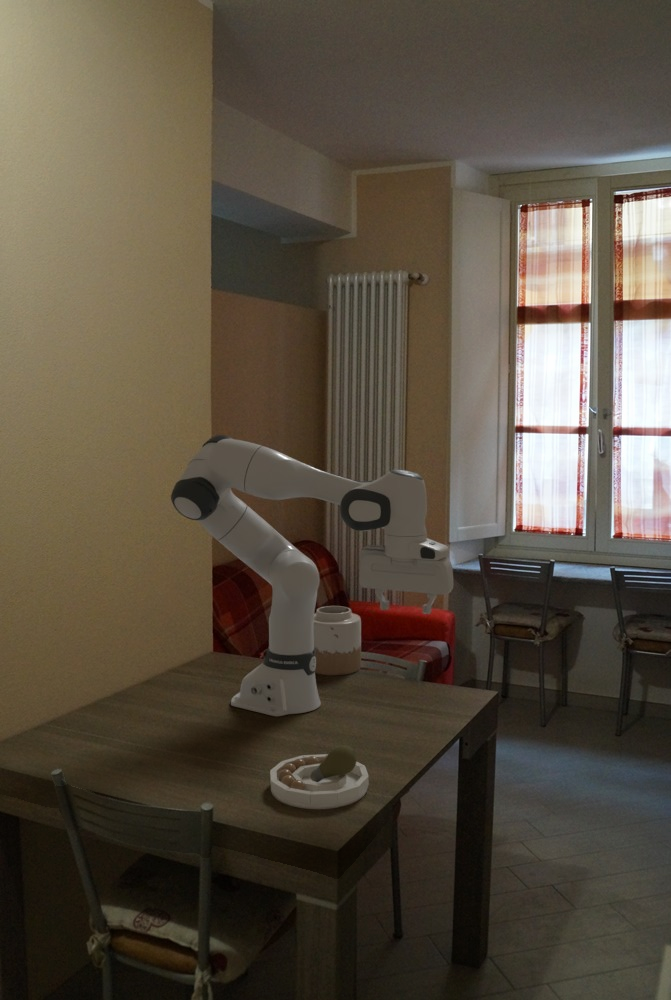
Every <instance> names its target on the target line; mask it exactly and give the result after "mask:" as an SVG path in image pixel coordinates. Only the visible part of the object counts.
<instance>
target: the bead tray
mask: <svg viewBox="0 0 671 1000" xmlns="http://www.w3.org/2000/svg"><path fill="white" fill-rule="evenodd" d="M328 754H329V753H328ZM328 754H327V753H324V754H304V755H298V756H295V757H292V758H288V759H285V760H284V759H283V760H281V761H280V762H279V763H278V764H276V765H275V766H274V767H273V768H271V769H270V770H269V777H270V778H269V780H270V792H271V795H272V796H273V797H274V798H275V799H276V800H277V801H279V802H281V803H282V804H285V805H287V806H290V807H295V808H300V809H304V810H305V809H307V810H308V809H309V810H330V809H337V808H341V807H342V808H343V807H345V806H349V805H352V804H353V803H356V802H358V801H359V800H361V799H362V798H363V797H364V796H365V795H366V794H367V792H368V787H369V785H370V783H369V781H370V780H369V779H370V778H369V777H370V776H369V773H368V771H367V768H366V765H364V764H362V763H360V762H359V761H357V760H356V765H355V767H354V769H353V770H352V771H351V772H349V773H348V774H345V775H336V776H331V777H328V778H324V779H323V780H321V781H319V782H315V781H312V780H311V778H310V776H311V772H312V771H313V770H315V769H317V768H318V767H319V765H320V764H321V763H322V762H323V761H324V760H325V758H326V757H327V755H328Z"/></svg>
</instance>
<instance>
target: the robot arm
mask: <svg viewBox="0 0 671 1000" xmlns="http://www.w3.org/2000/svg"><path fill="white" fill-rule="evenodd" d="M232 489H235V490H238V491H240V492H242V493H244V494H248V495H251V496H252V497H256V498H261V499H266V500H273V501H281V500H282V501H283V500H288V499H289V500H290V499H296V498H314V499H318V500H322V501H325V502H329V503H330V504H331V503H332V504H335V505H339V511H340V517H341V519H342V522H344V523H345V525H346V526H347V527H349V528H350V529H351V530H355V531H357V532H368V531H372V530H376V529H383V530H384V545H378V544H377V545H372V544H367V545H365V546H364V547H362V548H361V549H360V551H359V561H360V563H361V564H360V569H359V579H358V582H359V585H360V586H361V588H363V589H373V590H374V594H375V596H376V597H377V600H378V602H379V608H380V610H382V611H388V610H390V600H386V597H385V596H384V593H385V590H387V591H397V592H399V591H400V592H411V593H422V594H426V595H427V599H429V600H428V601H427V603H424V604H423V605H422V606H421V609H422V610H421V613H422V614H424V615H426V614H427V615H430V614H431V613H432V605H433V603H434V602H435V600H436V599H437V596H438V595H448V594H450V593H451V592H452V590H453V589H454V570H453V564H452V562H451V560H450V559H449V558H448V557H447V556H449V552H450V548H449V546H448V545H446V544H443V543H441V542H438V541H436V540H433V539H430V538H428V532H427V528H426V517H427V514H428V501H427V500H428V496H427V488H426V482H425V480H424V477H422V475H420V474H419V473H416V472H413V471H409V470H405V469H391V470H389V471H388V472H386V473H385V474H384V475H382V476H381V477H379V478H377V479H373V480H367V481H366V480H364V481H363V480H355V479H351V478H349V477H344V476H342V475H341V476H340V475H338V474H335V473H331V472H328V471H324V470H322V469H319V468H315V467H314V466H311V465H309V464H308V463H304V462H301V461H299V460H298V459H295V458H293V457H290V456H289V455H287V454H285V453H282V452H280V451H278V450H275V449H273V448H270V447H267V446H264V445H261V444H257V443H254V442H251V441H245V440H241V439H235V438H232V437H230V436H226V435H224V434H223V435H222V434H216V435H213V436H211V438H209V439H208V440H206V441H205V442H204V444H202V447H201V448H200V449H199V450H198V451H197V452H196V454H195V455H194V456H193V457H192V458H191V459H190V461H189V462H188V463H187V466H186V468H185V469H184V471H183V472H182V474H181V476H180V478H179V480H178V481H176V482H175V485H174V486H173V489H172V492H171V495H170V499H171V503H172V505H173V507H174V508H175V510H176V511H177V512H178V513H179V514H180V515H182V516H183V517H184V518H187V519H189V520H192V521H197V522H198V523H199V524H200V525H201V527H202V528H203V529H204V530H206V532H207V533H208V534H210V536H212V538H214V539H215V540H216V541H218V543H220V544H221V545H222V546H223V547H224V548H226V549H227V550H228V551H229V552H230V553H232V554H233V555H234V556H235V557H236V558H238V559H239V560H240V561H241V562H242V563H244V564H245V565H246V566H247V567H249V568H250V569H252V570H253V571H254V573H256V574H258V575H259V576H260V577H261V578H262V579H264V580H265V581H266V582H267V583H269V585H270V586H271V587H272V595H271V596H272V597H271V598H272V599H271V608H270V615H269V617H268V637H269V638H268V648H266V649H265V650H263V652H261V653H259V655H260V656H259V658H260V659H262V658H263V661H262V663H261V664H259V665H258V666H257V667H255V668H254V669H252V671H250V672H249V673H247V675H245V676H244V677H243V679H242V681H241V684H240V690H239V692H237V693H236V694H234V695H233V697H232V698H231V701H230V705H231V706H232V707H235V708H240V709H244V710H248V711H252V712H256V713H260V714H265V715H268V716H272V717H282V716H286V715H294V714H303V713H307V712H311V711H315V710H317V709H318V708H320V707H321V705H322V703H321V700H320V695H319V691H318V686H317V679H316V673H315V671H316V651H315V648H314V614H315V613H316V612H315V610H316V603H317V599H318V598H317V597H318V589H319V587H320V582H321V581H320V580H321V579H320V573H319V569H318V568H317V565H316V563H314V561H313V560H312V559H311V558H310V557H308V556H307V555H305V554H304V553H303V552H301V551H300V550H299V549H298V548H297V547H296V546H294V545H293V544H292V543H291V542H290V541H289V540H287V539H286V538H285V537H284V536H283V535H282V534H280V533H279V532H278V531H277V530H276V528H274V527H273V526H272V525H270V524H269V522H267V521H266V520H265V519H264V518H263V517H261V516H260V515H259V514H258V513H257V512H256V511H254V510H253V509H252V508H251V507H250V506H248V505H247V503H245V502H244V501H243V500H242V499H240V498H239V497H237V496H236V495H235V494H234V492H233V491H232Z"/></svg>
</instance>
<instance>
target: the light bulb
mask: <svg viewBox="0 0 671 1000" xmlns="http://www.w3.org/2000/svg"><path fill="white" fill-rule="evenodd" d="M356 761H357V755H356V753H355V751H354V749H353V748H351V747H350V746H349V745H344V744H340V745H337V746H334V747H333V748H332V749H330V751H329V752H328V755H327V757H326V758H325V760H324V761H323V762H322V763H321V764H320V765H319V767H318V768H317V769H315V770H313V771H312V772H311V776H310V778H311V780H312V781H315V782H319V781H321V780H323V779H324V778H328V777H331V776H336V775H345V774H348V773H349V772H351V771H352V770H353V769H354V767H355V765H356Z"/></svg>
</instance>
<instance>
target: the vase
mask: <svg viewBox="0 0 671 1000" xmlns="http://www.w3.org/2000/svg"><path fill="white" fill-rule="evenodd" d="M315 610H316V612H314V648H315V651H316V671H315V674H318V675H323V676H346V675H350V674H354V673H356V672H358V671H360V670H361V667H362V619H361V616H360V615H358V614H356V613H353V612H352V608H350V607H347V606H341V605H329V606H328V605H326V606H321V607H318V608H316V609H315Z"/></svg>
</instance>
